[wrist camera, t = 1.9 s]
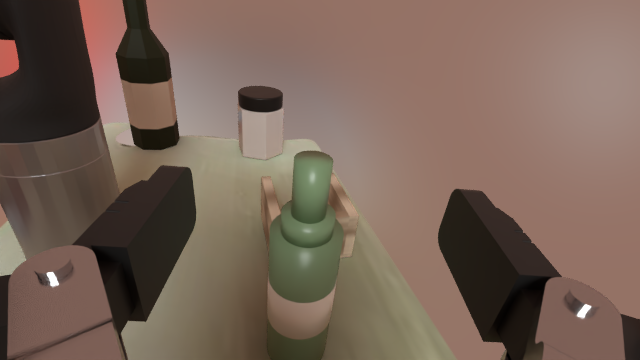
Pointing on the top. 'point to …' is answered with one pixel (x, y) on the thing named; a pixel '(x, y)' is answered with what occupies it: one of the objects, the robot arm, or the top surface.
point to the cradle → (336, 200)
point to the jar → (260, 122)
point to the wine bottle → (146, 81)
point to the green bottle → (303, 263)
